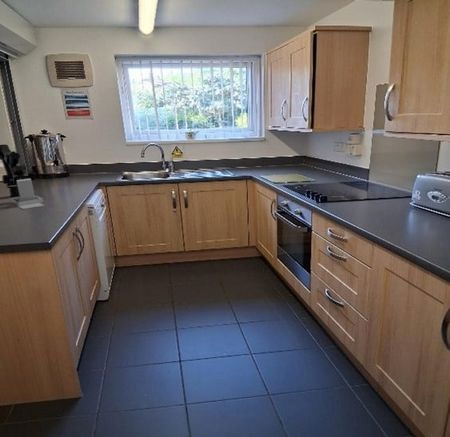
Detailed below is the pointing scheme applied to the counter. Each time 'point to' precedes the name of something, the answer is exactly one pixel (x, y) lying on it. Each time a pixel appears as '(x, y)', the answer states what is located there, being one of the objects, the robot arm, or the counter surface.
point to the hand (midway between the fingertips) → (23, 187)
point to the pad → (30, 205)
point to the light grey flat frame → (19, 202)
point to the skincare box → (25, 189)
